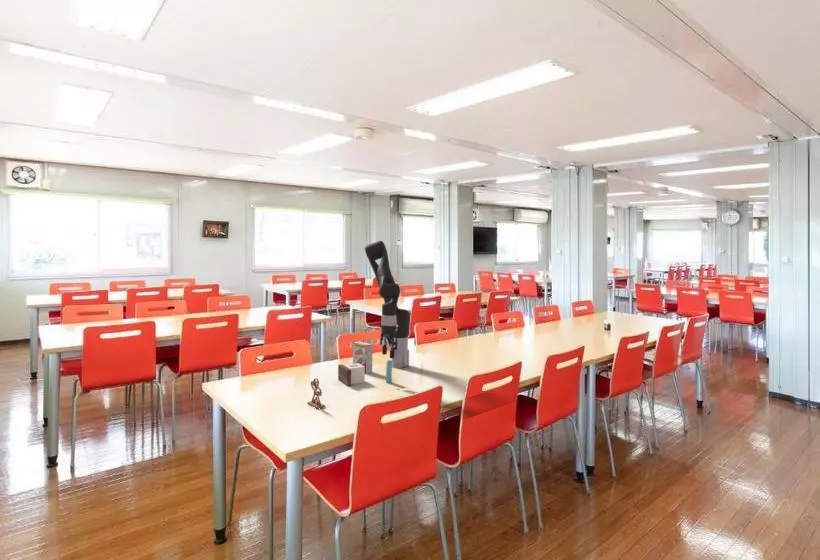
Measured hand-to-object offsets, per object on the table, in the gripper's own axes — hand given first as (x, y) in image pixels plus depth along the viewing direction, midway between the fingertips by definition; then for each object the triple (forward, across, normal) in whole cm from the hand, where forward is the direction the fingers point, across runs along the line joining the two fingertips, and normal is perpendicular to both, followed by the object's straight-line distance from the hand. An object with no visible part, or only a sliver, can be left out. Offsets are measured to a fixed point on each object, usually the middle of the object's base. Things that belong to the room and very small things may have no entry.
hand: (388, 356), depth 235 cm
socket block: (+13, -9, -15) cm, 22 cm away
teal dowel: (+14, 0, 0) cm, 15 cm away
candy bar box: (+15, -26, -3) cm, 30 cm away
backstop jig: (+14, -9, -8) cm, 19 cm away
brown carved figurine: (+15, +15, -41) cm, 46 cm away
